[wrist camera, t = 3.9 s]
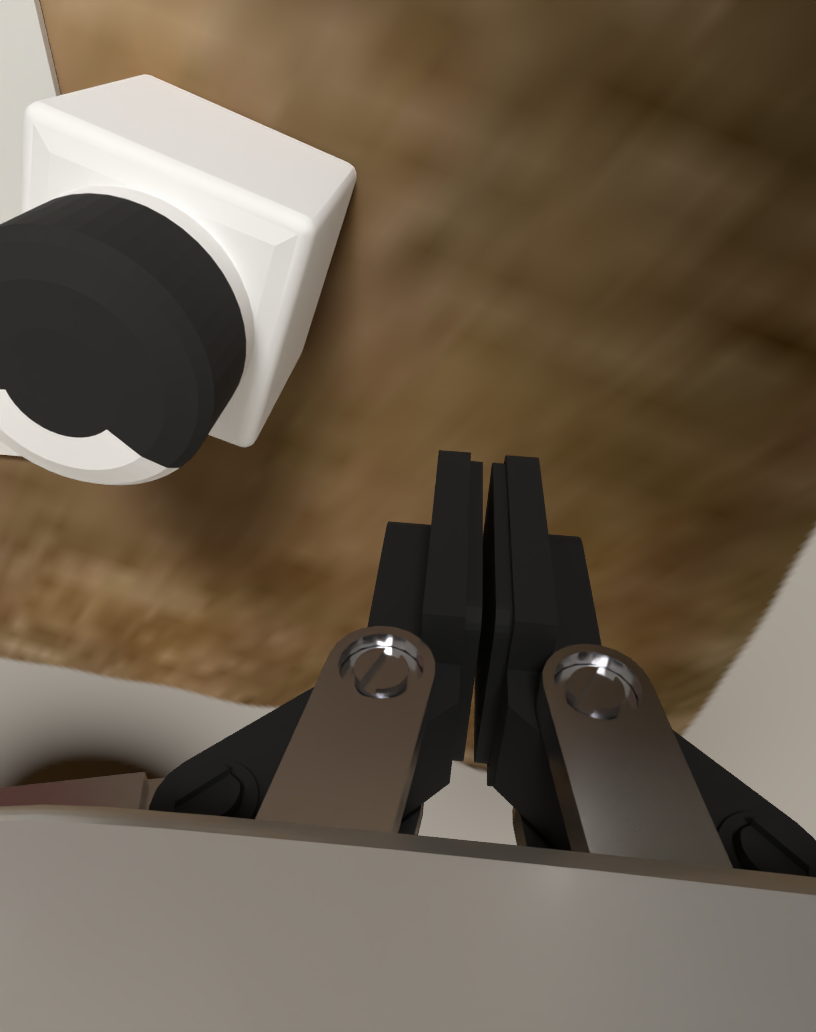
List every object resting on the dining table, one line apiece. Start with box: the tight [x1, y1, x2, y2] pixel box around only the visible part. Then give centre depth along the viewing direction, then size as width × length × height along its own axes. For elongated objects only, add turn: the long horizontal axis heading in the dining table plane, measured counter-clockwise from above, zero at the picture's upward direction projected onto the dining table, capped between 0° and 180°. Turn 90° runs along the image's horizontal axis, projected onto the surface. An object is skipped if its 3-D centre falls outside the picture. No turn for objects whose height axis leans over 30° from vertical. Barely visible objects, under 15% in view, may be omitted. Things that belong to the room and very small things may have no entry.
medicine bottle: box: [0, 74, 357, 485], centre depth 19 cm, size 7×7×12 cm
